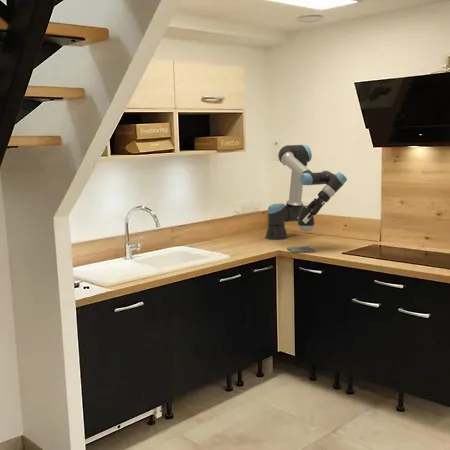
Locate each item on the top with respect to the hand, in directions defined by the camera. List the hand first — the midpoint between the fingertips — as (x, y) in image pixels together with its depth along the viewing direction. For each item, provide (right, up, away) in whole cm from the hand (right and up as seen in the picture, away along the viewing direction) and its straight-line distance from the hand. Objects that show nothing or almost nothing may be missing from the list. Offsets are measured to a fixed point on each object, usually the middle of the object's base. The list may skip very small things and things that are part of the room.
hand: (301, 220), depth 353 cm
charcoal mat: (0, -18, +3) cm, 18 cm away
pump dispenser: (+3, -6, +1) cm, 7 cm away
